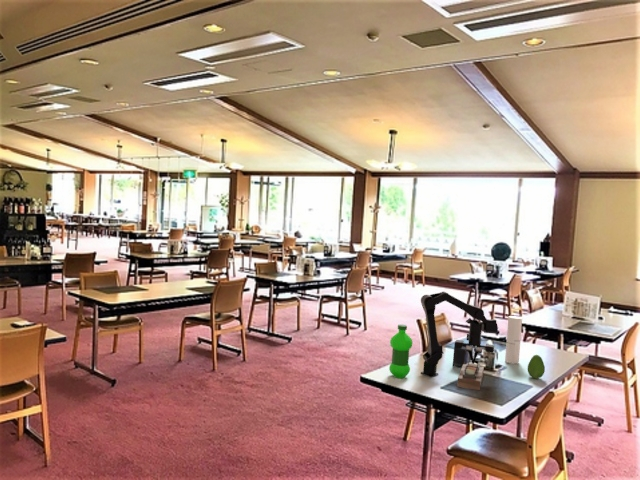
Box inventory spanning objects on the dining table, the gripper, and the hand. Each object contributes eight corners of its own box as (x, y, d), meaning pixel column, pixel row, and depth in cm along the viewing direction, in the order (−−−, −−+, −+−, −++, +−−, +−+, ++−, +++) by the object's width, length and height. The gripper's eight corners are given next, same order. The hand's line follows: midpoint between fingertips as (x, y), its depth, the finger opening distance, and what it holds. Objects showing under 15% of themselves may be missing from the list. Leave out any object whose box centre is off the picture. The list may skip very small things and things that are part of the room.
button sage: (474, 375, 242) (474, 372, 242) (465, 374, 243) (465, 370, 243) (474, 373, 245) (475, 369, 245) (466, 372, 247) (466, 368, 247)
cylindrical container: (520, 363, 286) (524, 319, 284) (507, 363, 286) (511, 318, 284) (516, 360, 293) (519, 316, 291) (503, 359, 293) (506, 315, 292)
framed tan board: (479, 390, 238) (480, 378, 238) (457, 386, 242) (457, 374, 241) (483, 374, 262) (484, 363, 262) (462, 371, 266) (463, 360, 266)
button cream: (476, 368, 257) (476, 365, 257) (468, 367, 258) (468, 364, 258) (477, 366, 260) (477, 363, 260) (468, 365, 262) (469, 361, 262)
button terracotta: (475, 373, 249) (475, 369, 249) (466, 371, 251) (466, 368, 251) (475, 371, 253) (476, 367, 253) (467, 369, 254) (467, 366, 254)
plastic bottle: (395, 371, 259) (398, 322, 258) (413, 376, 253) (417, 326, 251) (384, 375, 252) (387, 324, 250) (403, 381, 245) (406, 329, 244)
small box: (463, 369, 270) (465, 349, 270) (452, 366, 274) (453, 346, 274) (471, 365, 279) (472, 345, 278) (459, 362, 283) (461, 343, 282)
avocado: (533, 381, 256) (535, 357, 256) (523, 376, 264) (525, 352, 263) (547, 380, 258) (549, 356, 258) (537, 375, 266) (538, 352, 265)
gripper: (495, 331, 262) (493, 362, 263) (457, 326, 269) (455, 356, 270) (494, 336, 252) (492, 367, 253) (455, 331, 259) (453, 362, 260)
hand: (473, 363), depth 259 cm, fingers closed
